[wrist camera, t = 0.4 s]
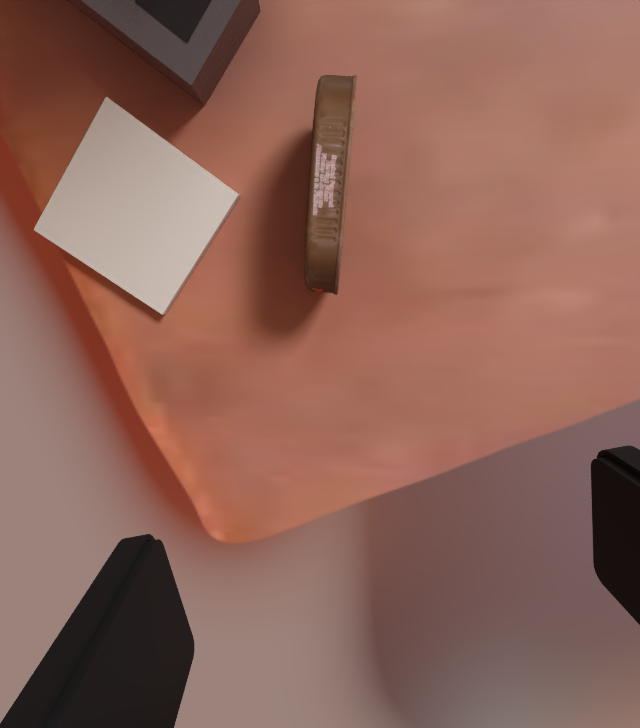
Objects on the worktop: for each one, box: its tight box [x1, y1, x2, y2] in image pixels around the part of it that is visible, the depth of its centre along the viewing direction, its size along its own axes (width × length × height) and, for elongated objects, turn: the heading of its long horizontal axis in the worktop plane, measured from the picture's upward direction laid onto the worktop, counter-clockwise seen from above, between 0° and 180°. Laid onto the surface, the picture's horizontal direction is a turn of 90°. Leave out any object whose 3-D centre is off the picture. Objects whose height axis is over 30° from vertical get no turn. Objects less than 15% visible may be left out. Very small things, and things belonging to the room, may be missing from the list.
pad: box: [34, 97, 240, 315], centre depth 35 cm, size 12×12×1 cm
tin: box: [305, 75, 357, 295], centre depth 32 cm, size 15×3×8 cm, turn 175°
